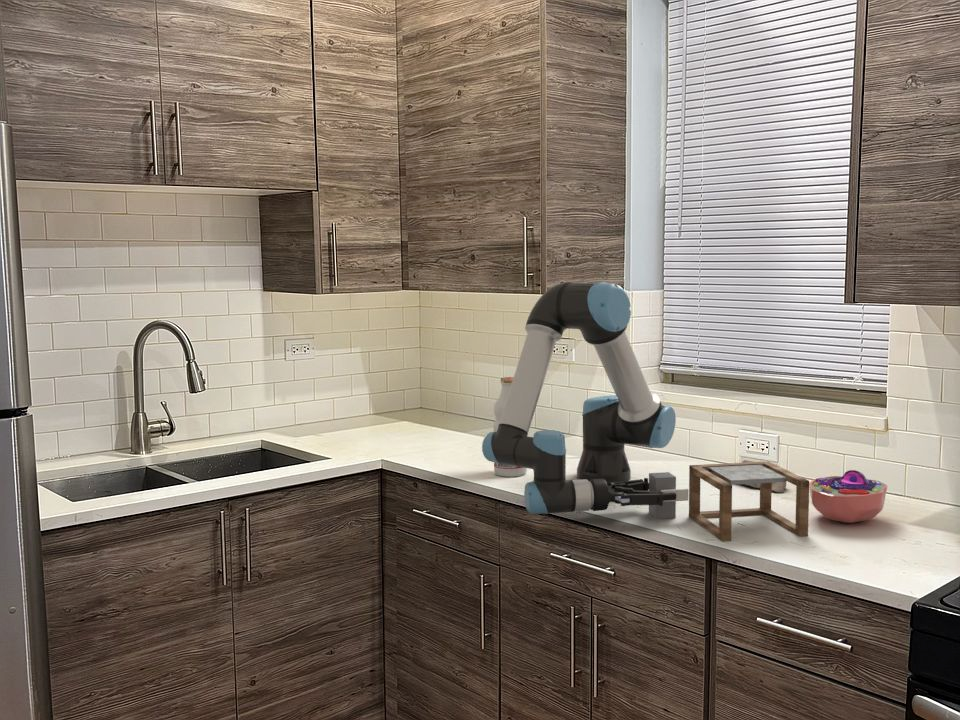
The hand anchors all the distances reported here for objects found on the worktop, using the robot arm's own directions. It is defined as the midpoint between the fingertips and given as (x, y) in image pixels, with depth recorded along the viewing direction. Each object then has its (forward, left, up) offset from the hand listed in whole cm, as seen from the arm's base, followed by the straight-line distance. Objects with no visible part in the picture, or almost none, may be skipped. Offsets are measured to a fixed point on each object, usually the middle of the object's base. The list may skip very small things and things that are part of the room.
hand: (681, 490), depth 225 cm
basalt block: (0, -5, -6) cm, 8 cm away
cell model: (+12, +36, -6) cm, 39 cm away
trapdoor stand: (+12, +11, -6) cm, 17 cm away
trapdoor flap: (+11, +11, +6) cm, 17 cm away
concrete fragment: (-21, +31, -6) cm, 38 cm away
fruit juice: (-50, -33, -6) cm, 60 cm away
